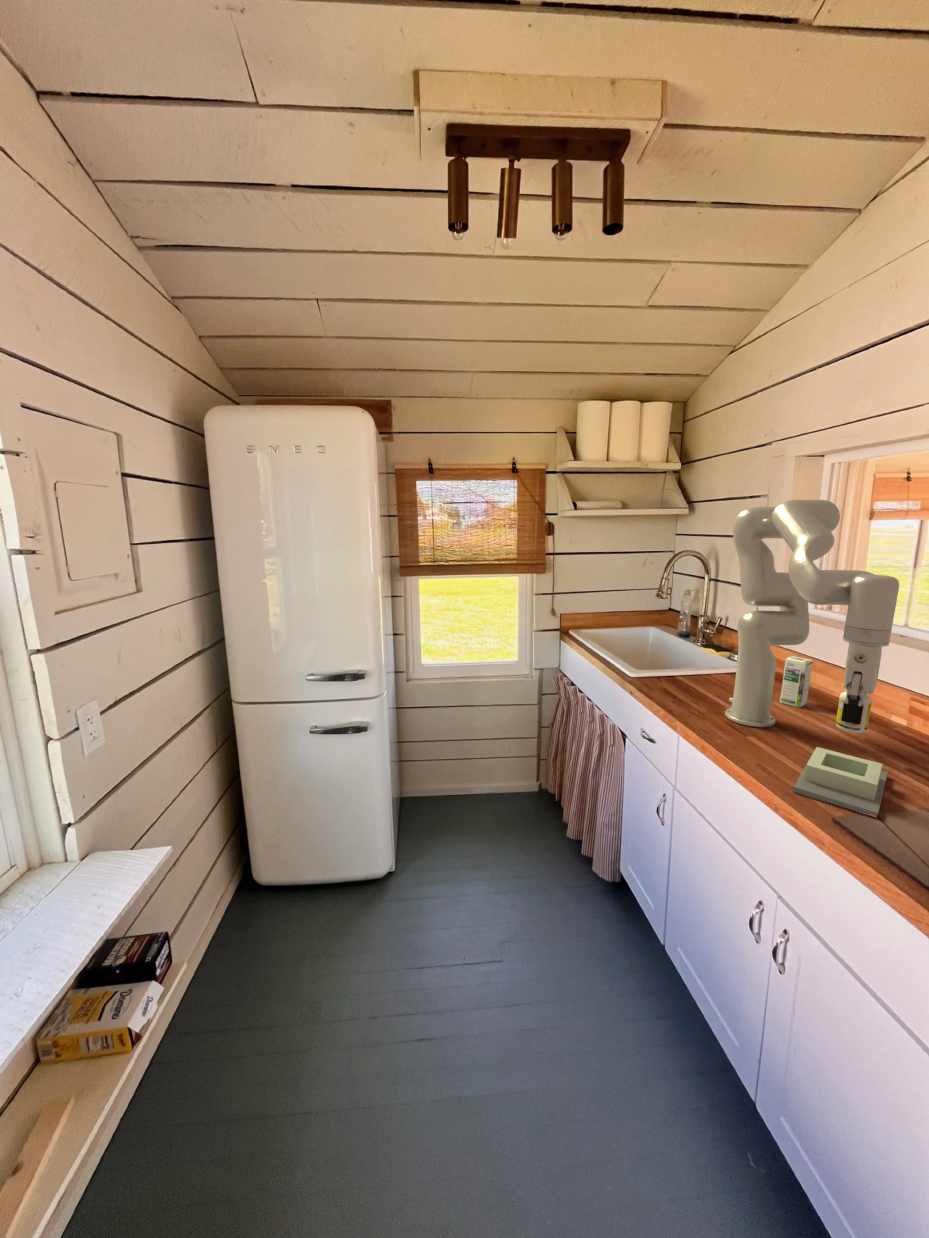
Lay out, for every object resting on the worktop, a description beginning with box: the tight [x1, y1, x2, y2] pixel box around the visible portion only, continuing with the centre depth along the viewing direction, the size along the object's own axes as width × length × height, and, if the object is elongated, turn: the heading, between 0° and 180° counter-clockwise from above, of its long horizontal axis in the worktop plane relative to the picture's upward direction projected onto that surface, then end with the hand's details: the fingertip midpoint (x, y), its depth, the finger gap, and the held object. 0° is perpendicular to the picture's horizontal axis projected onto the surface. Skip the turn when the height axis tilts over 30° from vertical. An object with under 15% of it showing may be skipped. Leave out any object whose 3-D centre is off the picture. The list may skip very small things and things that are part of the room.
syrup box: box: [779, 655, 814, 709], centre depth 157 cm, size 6×6×14 cm
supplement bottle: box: [835, 688, 873, 734], centre depth 107 cm, size 5×5×10 cm
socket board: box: [792, 746, 889, 816], centre depth 110 cm, size 22×14×5 cm, turn 137°
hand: (852, 717), depth 107 cm, fingers closed on supplement bottle, 5 cm apart
